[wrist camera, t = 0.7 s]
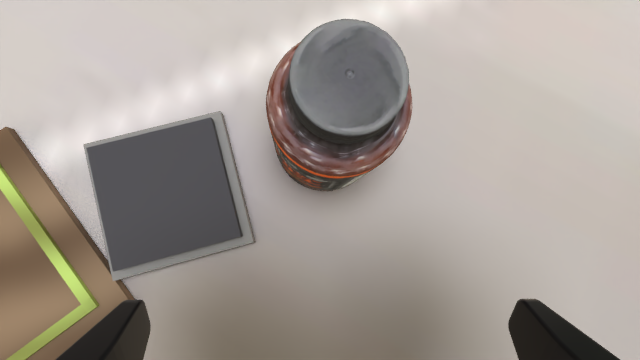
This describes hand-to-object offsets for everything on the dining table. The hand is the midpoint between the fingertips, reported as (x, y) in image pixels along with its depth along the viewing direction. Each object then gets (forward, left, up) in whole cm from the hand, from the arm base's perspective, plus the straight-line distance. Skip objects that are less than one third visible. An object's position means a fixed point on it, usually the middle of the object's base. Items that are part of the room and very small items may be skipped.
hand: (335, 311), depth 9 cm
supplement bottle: (+6, +4, -14) cm, 15 cm away
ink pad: (-2, +9, -14) cm, 16 cm away
